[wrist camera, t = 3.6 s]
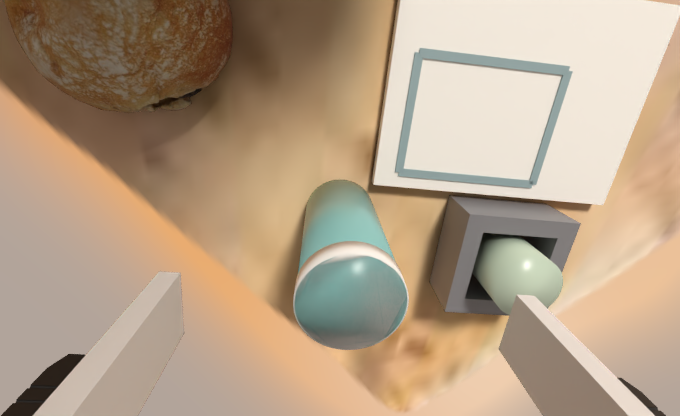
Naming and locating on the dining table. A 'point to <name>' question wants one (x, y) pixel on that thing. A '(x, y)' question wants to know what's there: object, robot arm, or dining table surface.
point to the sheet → (517, 94)
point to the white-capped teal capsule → (347, 271)
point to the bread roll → (125, 48)
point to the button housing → (465, 236)
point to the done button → (515, 271)
